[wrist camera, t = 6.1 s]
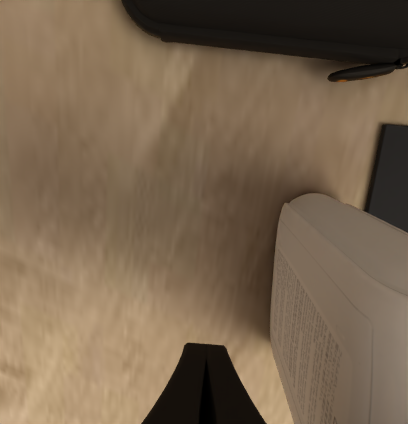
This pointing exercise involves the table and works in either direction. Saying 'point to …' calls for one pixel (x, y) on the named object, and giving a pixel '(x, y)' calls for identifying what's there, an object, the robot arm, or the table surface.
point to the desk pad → (390, 178)
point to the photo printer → (340, 313)
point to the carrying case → (288, 29)
